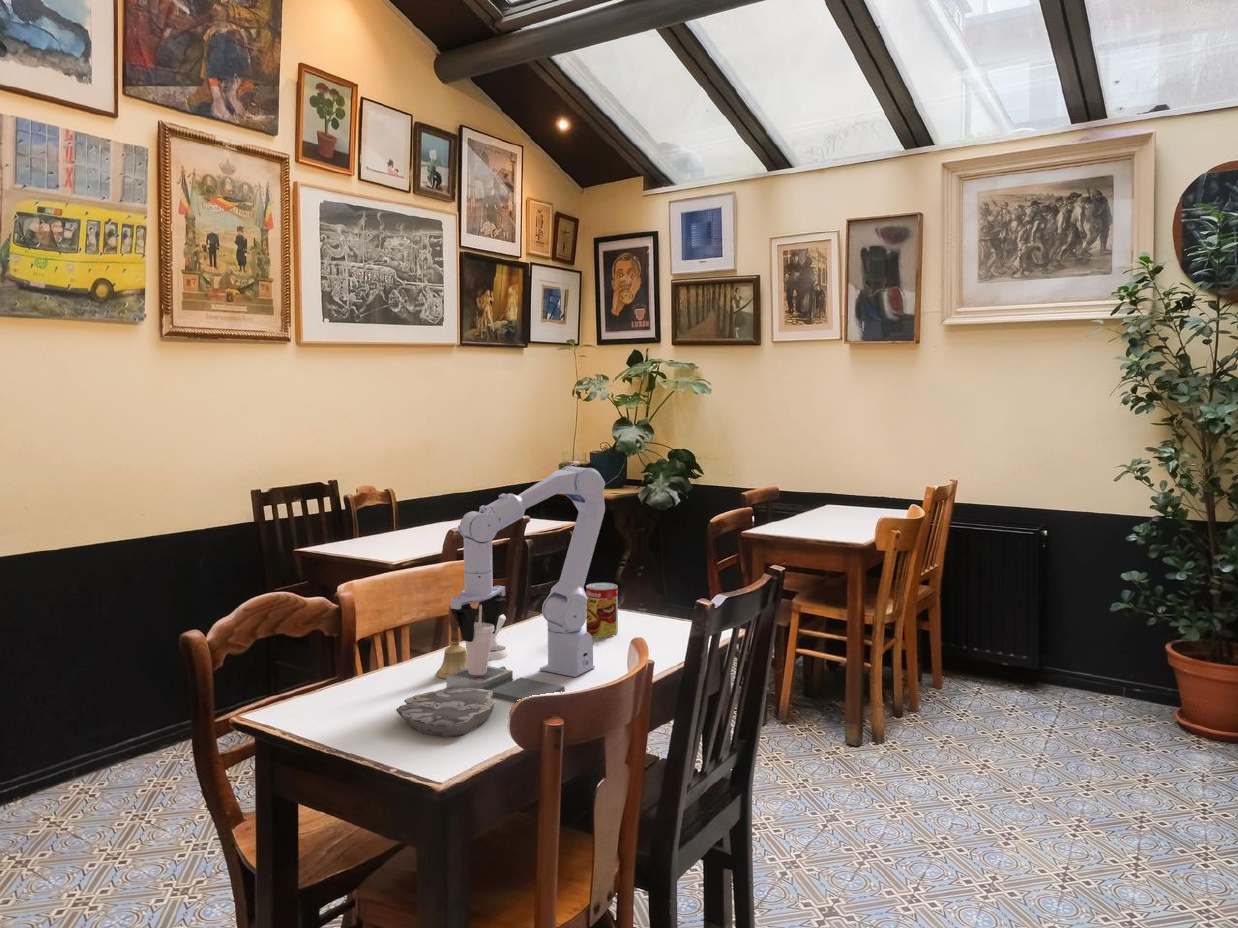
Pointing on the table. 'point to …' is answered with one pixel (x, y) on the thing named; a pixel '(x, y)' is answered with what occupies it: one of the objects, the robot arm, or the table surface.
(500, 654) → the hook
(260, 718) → the table surface
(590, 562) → the robot arm
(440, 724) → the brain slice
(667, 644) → the table surface
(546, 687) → the mat
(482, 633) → the smoothie
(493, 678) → the holder
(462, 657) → the hand bell
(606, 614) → the canned food
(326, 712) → the table surface
